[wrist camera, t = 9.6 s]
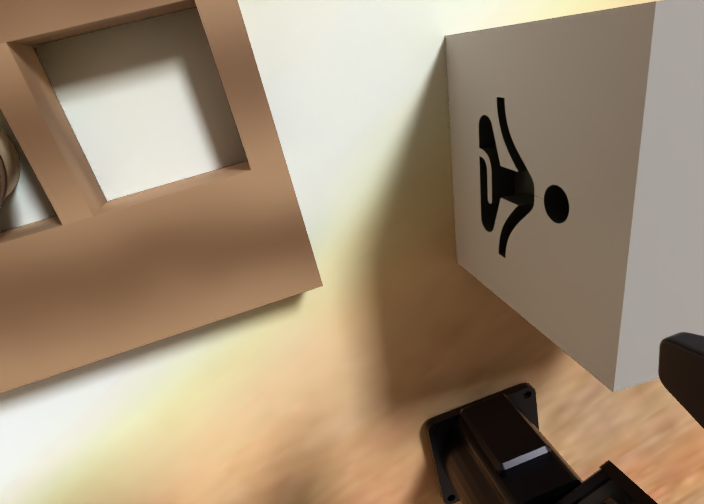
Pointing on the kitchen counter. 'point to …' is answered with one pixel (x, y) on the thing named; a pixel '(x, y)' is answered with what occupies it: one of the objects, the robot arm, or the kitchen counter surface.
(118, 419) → the kitchen counter surface
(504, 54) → the icon cube
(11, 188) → the peg
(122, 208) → the board
